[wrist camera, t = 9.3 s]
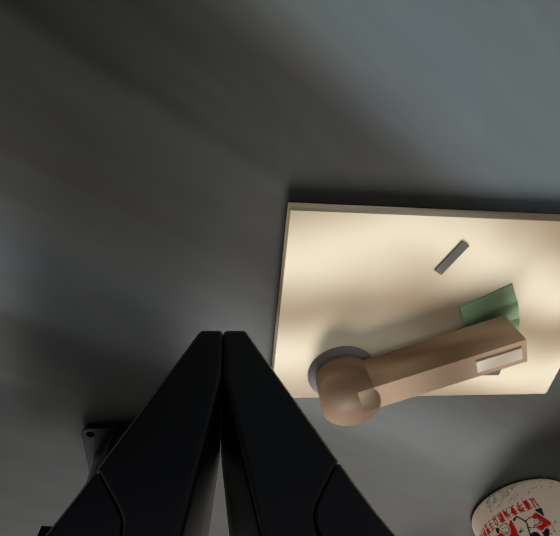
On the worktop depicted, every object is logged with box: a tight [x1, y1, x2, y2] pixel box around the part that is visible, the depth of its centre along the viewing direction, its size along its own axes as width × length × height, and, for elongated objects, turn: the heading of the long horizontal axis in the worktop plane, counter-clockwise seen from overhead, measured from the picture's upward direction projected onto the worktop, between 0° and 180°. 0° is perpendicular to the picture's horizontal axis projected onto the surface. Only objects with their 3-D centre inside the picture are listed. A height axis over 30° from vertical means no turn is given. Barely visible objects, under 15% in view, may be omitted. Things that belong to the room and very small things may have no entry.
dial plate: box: [271, 202, 560, 398], centre depth 24 cm, size 12×18×1 cm, turn 85°
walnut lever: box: [316, 315, 527, 426], centre depth 24 cm, size 11×3×2 cm, turn 108°
